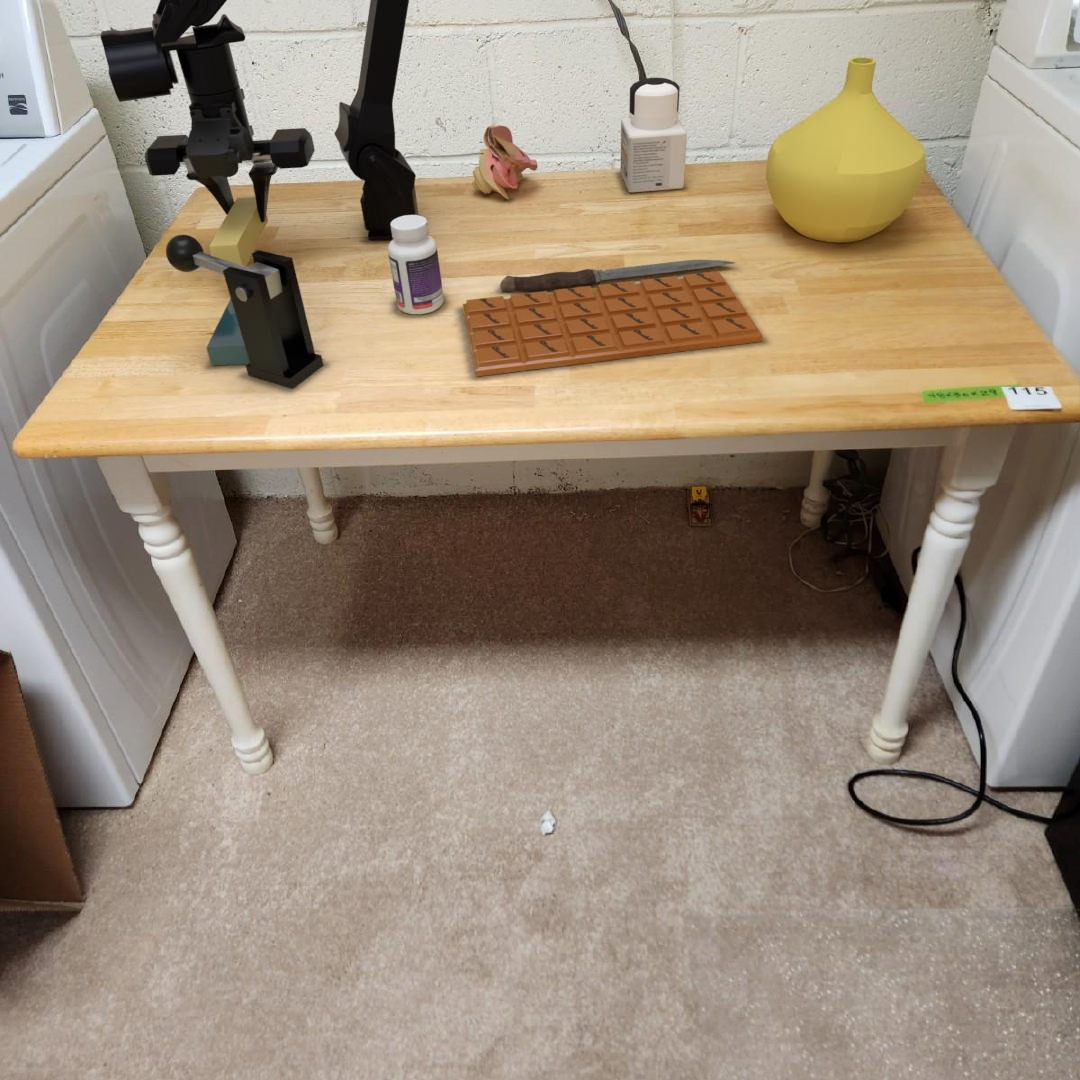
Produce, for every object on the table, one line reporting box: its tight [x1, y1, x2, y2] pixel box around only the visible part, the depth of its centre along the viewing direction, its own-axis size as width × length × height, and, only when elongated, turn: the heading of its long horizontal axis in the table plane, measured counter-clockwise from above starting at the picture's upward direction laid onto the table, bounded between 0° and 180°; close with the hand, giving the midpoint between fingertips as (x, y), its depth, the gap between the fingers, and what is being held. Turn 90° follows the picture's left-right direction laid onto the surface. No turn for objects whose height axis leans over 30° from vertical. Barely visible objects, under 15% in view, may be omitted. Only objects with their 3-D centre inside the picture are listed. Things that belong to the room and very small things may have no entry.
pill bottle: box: [387, 214, 445, 315], centre depth 102 cm, size 5×5×10 cm
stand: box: [223, 249, 324, 389], centre depth 92 cm, size 6×6×12 cm
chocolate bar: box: [462, 270, 763, 377], centre depth 100 cm, size 14×30×1 cm, turn 99°
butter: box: [208, 196, 269, 268], centre depth 111 cm, size 14×3×3 cm, turn 1°
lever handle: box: [165, 234, 282, 299], centre depth 91 cm, size 13×4×4 cm, turn 61°
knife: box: [499, 259, 736, 292], centre depth 108 cm, size 28×3×1 cm, turn 99°
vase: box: [765, 56, 927, 243], centre depth 109 cm, size 18×18×19 cm
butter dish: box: [206, 297, 250, 367], centre depth 102 cm, size 5×14×2 cm, turn 1°
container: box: [620, 77, 688, 194], centre depth 125 cm, size 8×8×13 cm
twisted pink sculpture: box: [471, 124, 539, 200], centre depth 128 cm, size 9×10×10 cm
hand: (249, 221), depth 115 cm, fingers closed on butter, 3 cm apart
